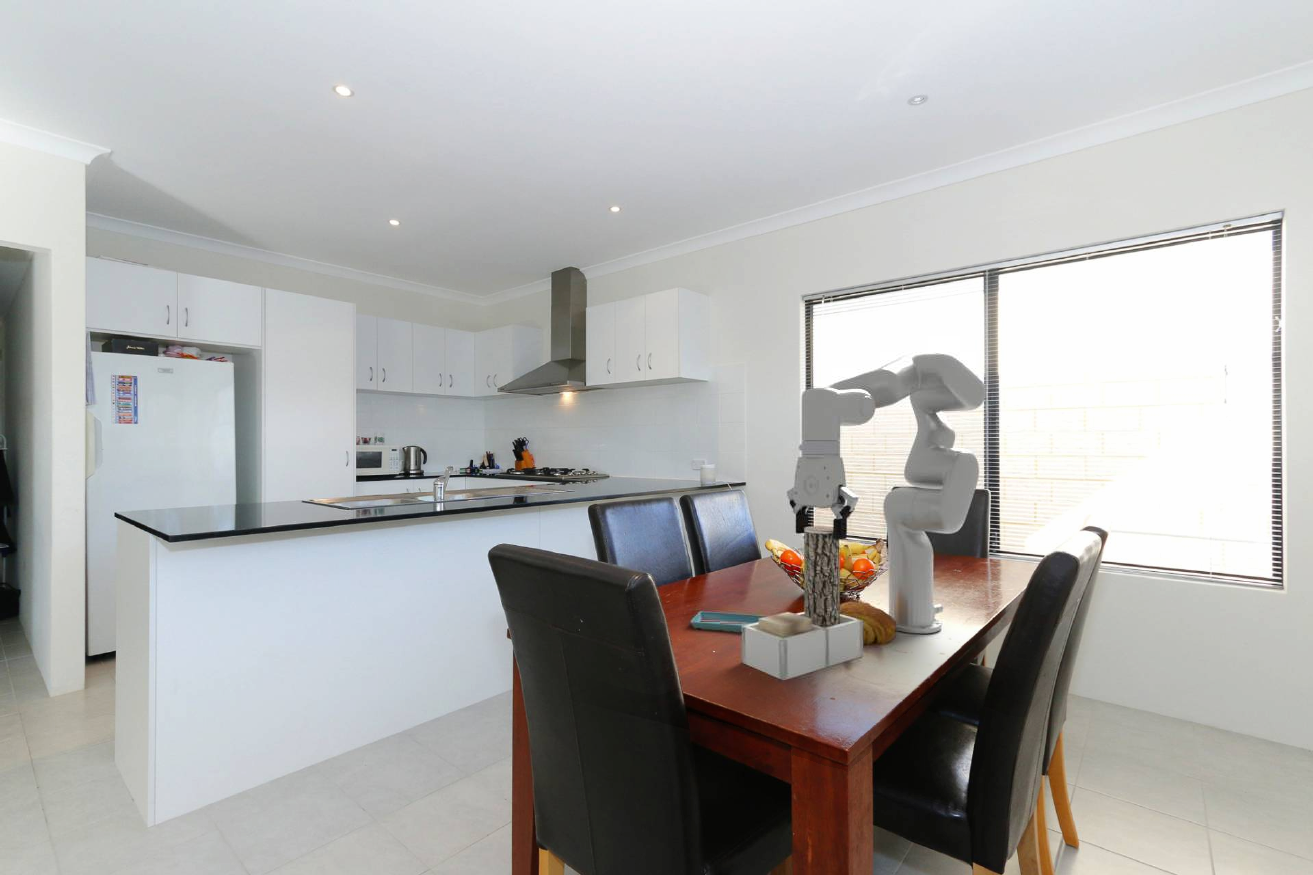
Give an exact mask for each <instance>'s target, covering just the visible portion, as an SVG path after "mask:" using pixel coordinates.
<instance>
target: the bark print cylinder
mask: <svg viewBox="0 0 1313 875" xmlns="http://www.w3.org/2000/svg"><path fill="white" fill-rule="evenodd" d="M803 537H804V538H803V541H804V542H803V544H804V545H803V550H804V554H803V555H804V557H803V558H804V559H803V560H804V561H803V562H804V564H803V565H804V568H803V570H804V573H803V574H804V575H803V576H804V577H803V578H804V612H805V617H807V618H811V619H812V624H813V625H817V626H820V627H823V628H827V627H831V626H834V625H838V624H840V605H841V593H840V590H841V587H840V585H841V584H840V580H841V576H840V575H841V574H840V571H841V570H840V566H841V565H840V564H841V563H840V562H841V560H840V539H839V540H835V539H834V538H833V526H824V525H823V526H820V525H815V526H809V527H805V530H804V533H803Z"/></svg>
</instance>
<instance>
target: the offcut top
mask: <svg viewBox="0 0 1313 875" xmlns="http://www.w3.org/2000/svg"><path fill="white" fill-rule="evenodd" d="M767 616H768V617H764V618H759V630H761V631H763V632H766V633H769V634H772V635H775V636H777V637H780V638H787V637H791V636H795V635H799V634H803V633H807V632H811V631H812V619H811V618H807V617H804V616H800V615H797V613H793V612H789V611H786V612H781V613H778V614H774V615H767Z"/></svg>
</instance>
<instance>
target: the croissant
mask: <svg viewBox="0 0 1313 875" xmlns="http://www.w3.org/2000/svg"><path fill="white" fill-rule="evenodd" d="M840 614H841V615H845V616H849V617H852V618H856V619H859V620H863V645H865V644H867V645H871V644H872V645H873V644H874V645H885V644H887V643H889V642H890V641H892V640H893V638H894V637H895V635H896V632H897V630H896V629H895V626H896V624H897V623H896V621H895V620H894V619H893V618H892V617H891V616H890V615H888V614H889V613H887V612H886V611H885V610H883V609H880V608H877V607H875V606H873V605H871V604H870V603H869V602H863V601H862V602H859V601H848V602H847V601H846V602H843V603H840Z"/></svg>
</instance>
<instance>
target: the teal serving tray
mask: <svg viewBox="0 0 1313 875" xmlns="http://www.w3.org/2000/svg"><path fill="white" fill-rule="evenodd" d="M768 616H769V615H760V614H759V615H758V614H745V613H731V612H719V611H718V612H717V611H705V610H703V611H702V610H701V611H699V612H698V613H697V614H695V616H694V617H693V618H692V619H691V620H690V624H691V625H692V627H693V628H694V629H697V628H701V630H708V631H709V629H710V631H719V630H723V631H722V632H730V631H733V633H741V632H742V626H744V625H748V624H753V623H757V622H759V618H764V617H768ZM701 619H714V620H701ZM700 621H720V622H700ZM727 621H732V622H727ZM720 623H743V624H720ZM746 623H747V624H746Z"/></svg>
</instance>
